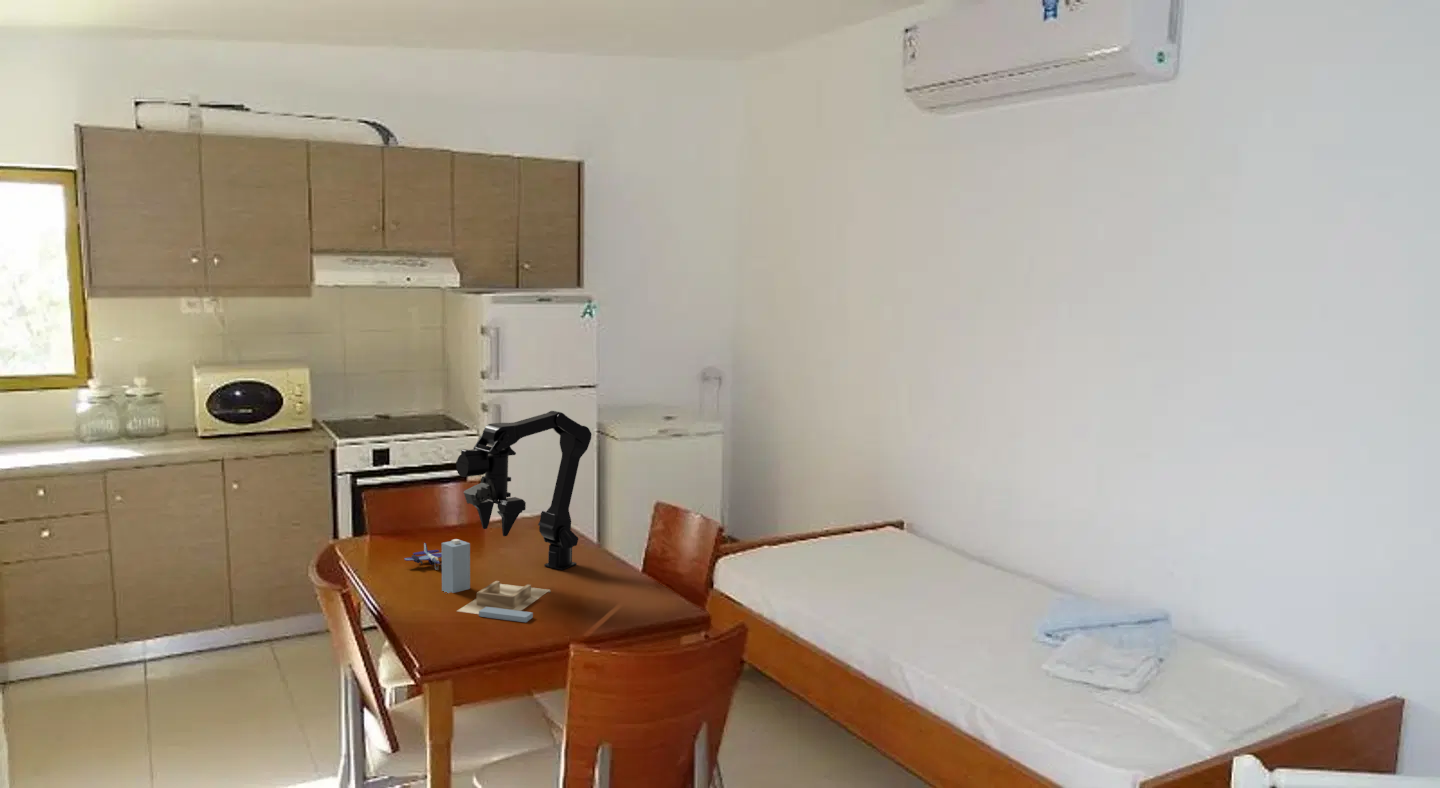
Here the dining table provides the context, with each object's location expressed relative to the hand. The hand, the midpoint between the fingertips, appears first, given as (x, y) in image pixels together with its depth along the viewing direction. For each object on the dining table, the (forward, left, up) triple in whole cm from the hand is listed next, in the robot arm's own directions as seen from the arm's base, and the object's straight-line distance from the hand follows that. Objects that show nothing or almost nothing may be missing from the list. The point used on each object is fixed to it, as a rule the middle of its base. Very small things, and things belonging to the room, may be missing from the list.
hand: (494, 532), depth 267 cm
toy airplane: (0, -22, -13) cm, 26 cm away
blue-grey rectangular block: (+12, -2, -13) cm, 18 cm away
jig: (+12, +14, -13) cm, 22 cm away
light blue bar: (+21, +22, -12) cm, 32 cm away
